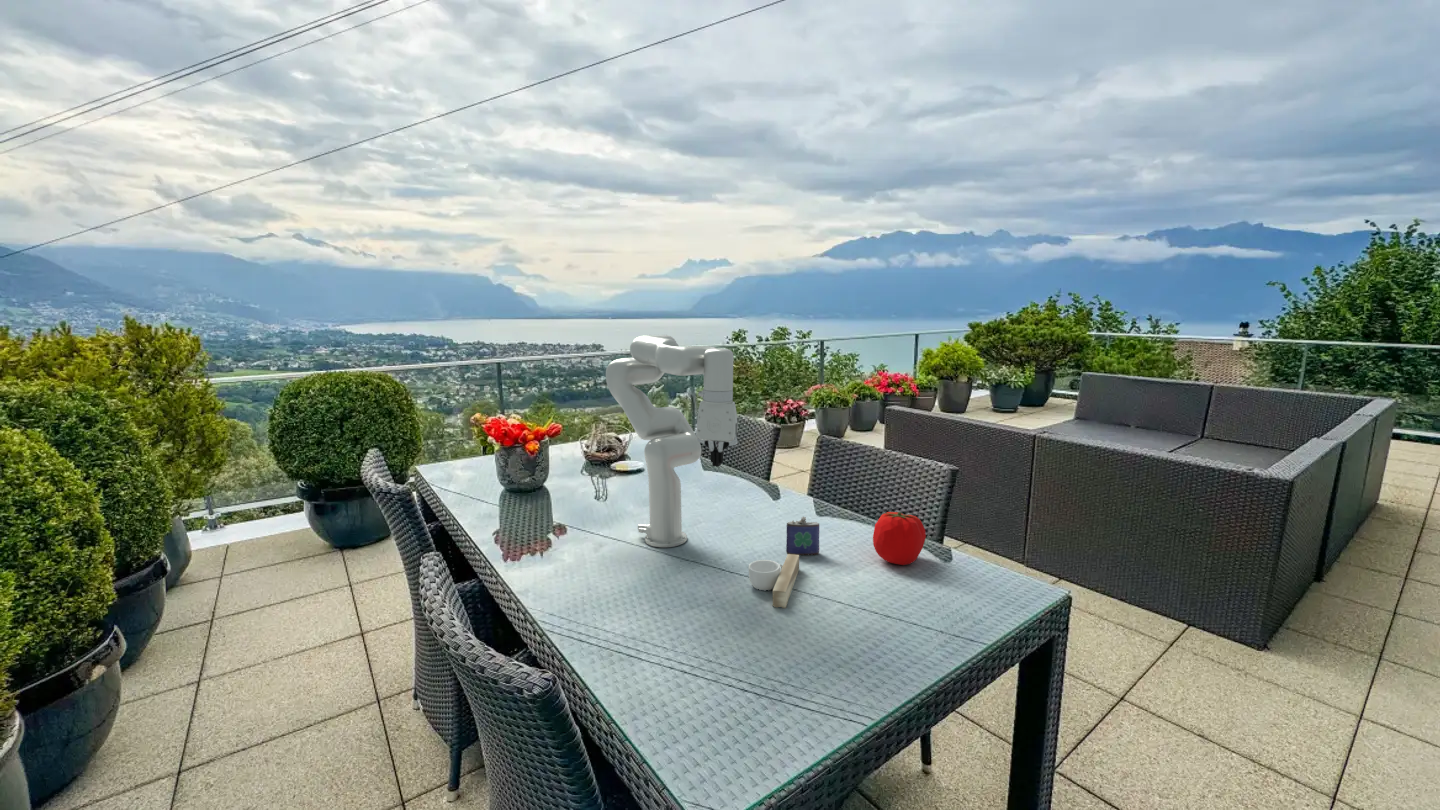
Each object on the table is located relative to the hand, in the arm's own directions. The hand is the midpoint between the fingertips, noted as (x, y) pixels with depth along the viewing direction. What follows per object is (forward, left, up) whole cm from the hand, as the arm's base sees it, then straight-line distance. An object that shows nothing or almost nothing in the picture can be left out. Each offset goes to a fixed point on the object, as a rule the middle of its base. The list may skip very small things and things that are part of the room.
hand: (716, 465), depth 154 cm
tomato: (+47, +15, -28) cm, 57 cm away
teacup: (+15, -9, -28) cm, 33 cm away
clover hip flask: (+21, +13, -28) cm, 37 cm away
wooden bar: (+20, -9, -27) cm, 35 cm away
